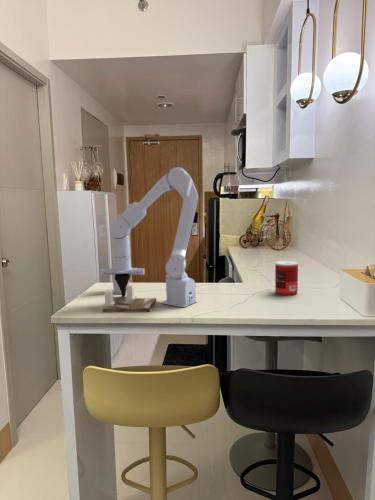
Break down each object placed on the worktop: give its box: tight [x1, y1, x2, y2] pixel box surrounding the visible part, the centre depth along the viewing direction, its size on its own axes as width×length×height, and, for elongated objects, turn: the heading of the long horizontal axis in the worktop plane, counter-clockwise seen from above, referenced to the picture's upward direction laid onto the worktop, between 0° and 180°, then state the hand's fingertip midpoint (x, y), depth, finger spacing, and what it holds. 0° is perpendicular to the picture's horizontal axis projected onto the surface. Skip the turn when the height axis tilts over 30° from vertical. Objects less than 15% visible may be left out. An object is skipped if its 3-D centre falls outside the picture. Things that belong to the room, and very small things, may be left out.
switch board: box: [102, 295, 157, 313], centre depth 121 cm, size 15×12×2 cm
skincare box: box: [111, 262, 130, 295], centre depth 139 cm, size 6×4×12 cm
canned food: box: [274, 260, 299, 296], centre depth 131 cm, size 8×8×11 cm
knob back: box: [125, 284, 136, 300], centre depth 123 cm, size 3×3×5 cm
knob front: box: [103, 289, 115, 306], centre depth 118 cm, size 3×3×5 cm
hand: (123, 295), depth 124 cm, fingers closed
